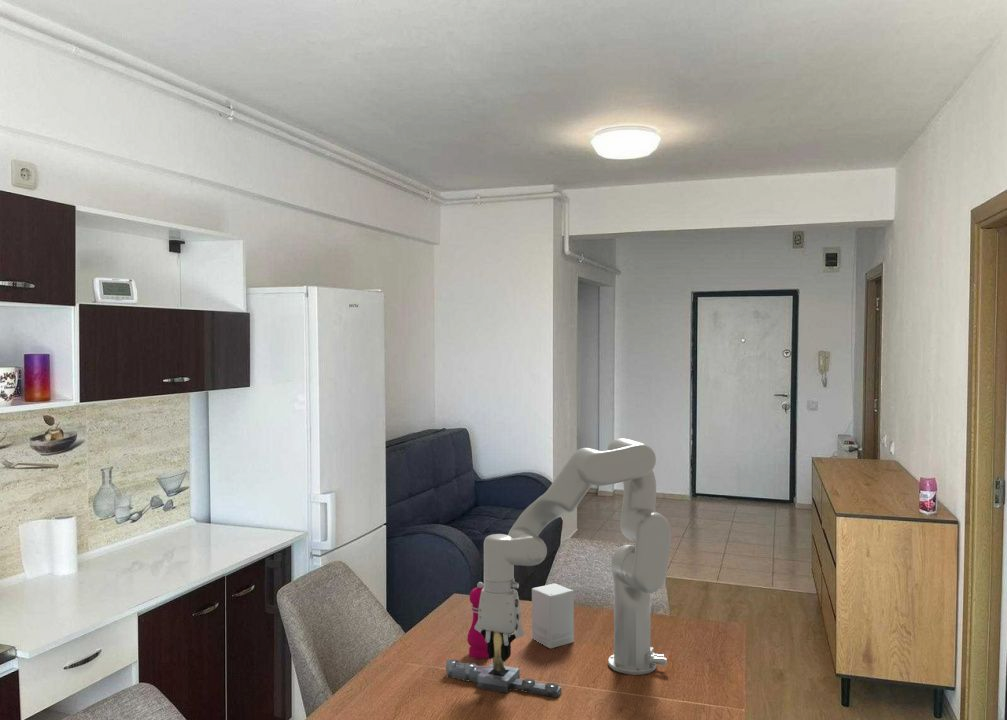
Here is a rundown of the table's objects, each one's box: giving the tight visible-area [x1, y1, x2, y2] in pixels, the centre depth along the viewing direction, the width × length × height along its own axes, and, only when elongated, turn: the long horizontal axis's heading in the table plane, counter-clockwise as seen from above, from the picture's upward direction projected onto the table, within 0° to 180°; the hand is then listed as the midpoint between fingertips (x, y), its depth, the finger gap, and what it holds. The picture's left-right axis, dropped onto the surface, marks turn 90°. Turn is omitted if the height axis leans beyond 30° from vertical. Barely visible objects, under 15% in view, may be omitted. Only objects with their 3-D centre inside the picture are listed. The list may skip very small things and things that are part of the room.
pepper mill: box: [466, 581, 489, 660], centre depth 212 cm, size 7×7×20 cm
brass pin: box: [492, 631, 506, 671], centre depth 194 cm, size 3×3×10 cm
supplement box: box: [531, 582, 575, 649], centre depth 222 cm, size 9×9×15 cm
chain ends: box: [445, 658, 562, 699], centre depth 194 cm, size 31×8×4 cm, turn 67°
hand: (499, 657), depth 194 cm, fingers closed on brass pin, 3 cm apart
